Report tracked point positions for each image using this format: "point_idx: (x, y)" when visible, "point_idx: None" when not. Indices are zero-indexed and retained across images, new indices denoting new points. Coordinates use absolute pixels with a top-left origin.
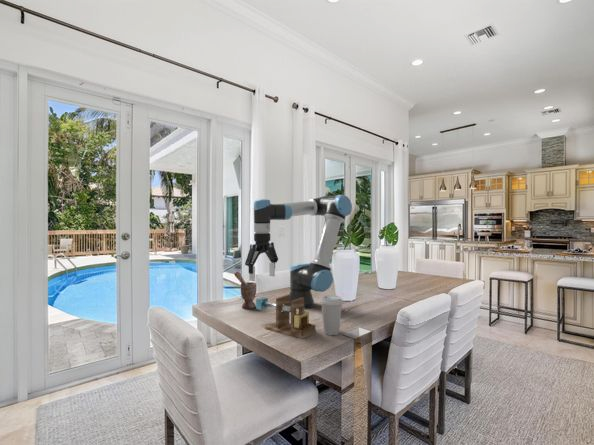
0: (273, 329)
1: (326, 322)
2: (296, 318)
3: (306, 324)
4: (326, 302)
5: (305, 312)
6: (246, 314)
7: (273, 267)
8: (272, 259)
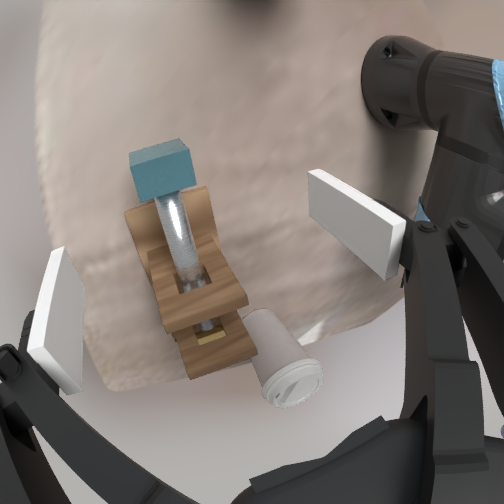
0: (137, 248)
1: None
2: None
3: None
4: (266, 398)
5: None
6: (171, 9)
7: (356, 251)
8: (406, 300)
